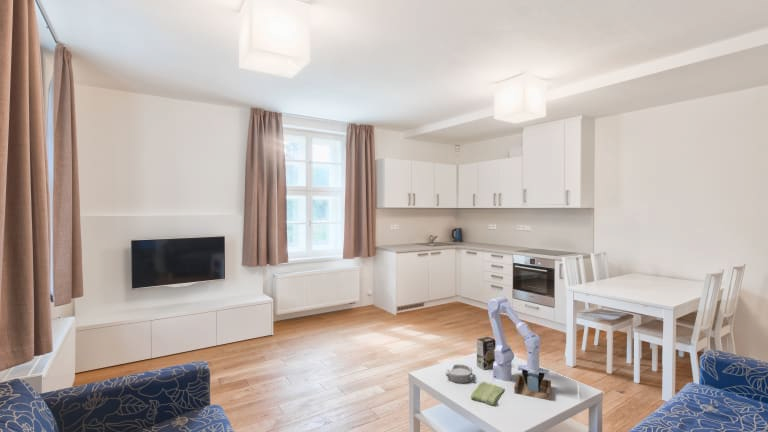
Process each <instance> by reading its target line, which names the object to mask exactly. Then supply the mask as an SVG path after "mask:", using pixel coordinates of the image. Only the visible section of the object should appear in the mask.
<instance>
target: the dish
mask: <svg viewBox="0 0 768 432" xmlns="http://www.w3.org/2000/svg"><path fill="white" fill-rule="evenodd" d="M445 376H446V377H447V378H448V381H451V382H452V383H457V384H458V383H459V384H464V383H468V382H469V383H470V382H471V381H472V380H473V379H474V375H473V369H472V367H470V366H469V365H467V364H459V363H457V364H453V366H452V368H451V370H449V369H448V368H447V370H446V372H445Z"/></svg>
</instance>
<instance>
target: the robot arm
mask: <svg viewBox="0 0 768 432" xmlns="http://www.w3.org/2000/svg"><path fill="white" fill-rule="evenodd" d="M487 306H488V309H487V310H488V311H487V313H488V318H489V322H490V326H491V328H492V333H493V339H495V350H494V351H495V360H496V361H494V363H493V368H492V380H494V379H495V380H496V379H497V380H501V381H505V382H508V381H511V380H512V364H513V360H514V358H515V355H514V354H515V353H514V352H513V350H512V347H511V345H509V344H508V343H507V340H506V335H505V333H504V329H503V328H504V327H503V324H502V320H501V315H500V314H506V316H507V317H508V318H509V319H510V320H511V322H513V324H514V325H515V330H516V331H517V332H518V333H519V335H520V336H521V338H522V339H523V340H524V345H525V347H526V364H525V365H523V364H521V365H520V364H518V365H517V371H521V375H523V376H524V378H525V381H526V386H527V376H528V373H533V374H539V376H538V377H539V384H538V388H540V384H541V382H542V379H545V375H546V376H549V375H550V370H549V369H545V368H542V367H540V346H541V344H542V339H541V337H540V336H539V335H538V334H536V333H534V332H533V331H532V330H531V328H530V327H529V325H528V323H526V322H524V321H522V320H521V319H520V317H519V316H518V314H517V313H516V311H515V310H514V308H513V307H512V305H511V302H510V301H509V299H508V298H507V297H506V296H503V295H501V296H499V297H496V298H491V299H490V300H489V302H488V303H487Z"/></svg>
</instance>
